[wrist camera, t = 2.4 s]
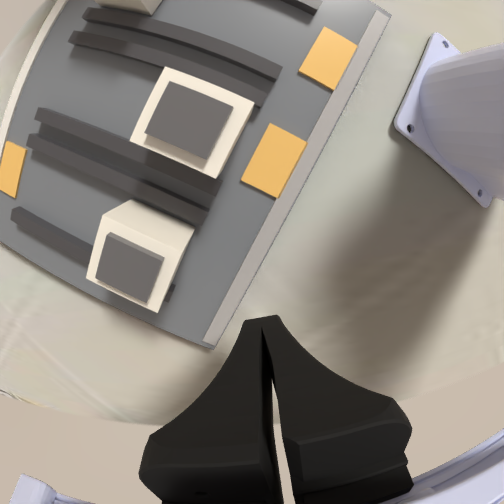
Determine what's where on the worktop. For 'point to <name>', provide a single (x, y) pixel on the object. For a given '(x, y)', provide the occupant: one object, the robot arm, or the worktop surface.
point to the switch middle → (192, 121)
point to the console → (164, 168)
